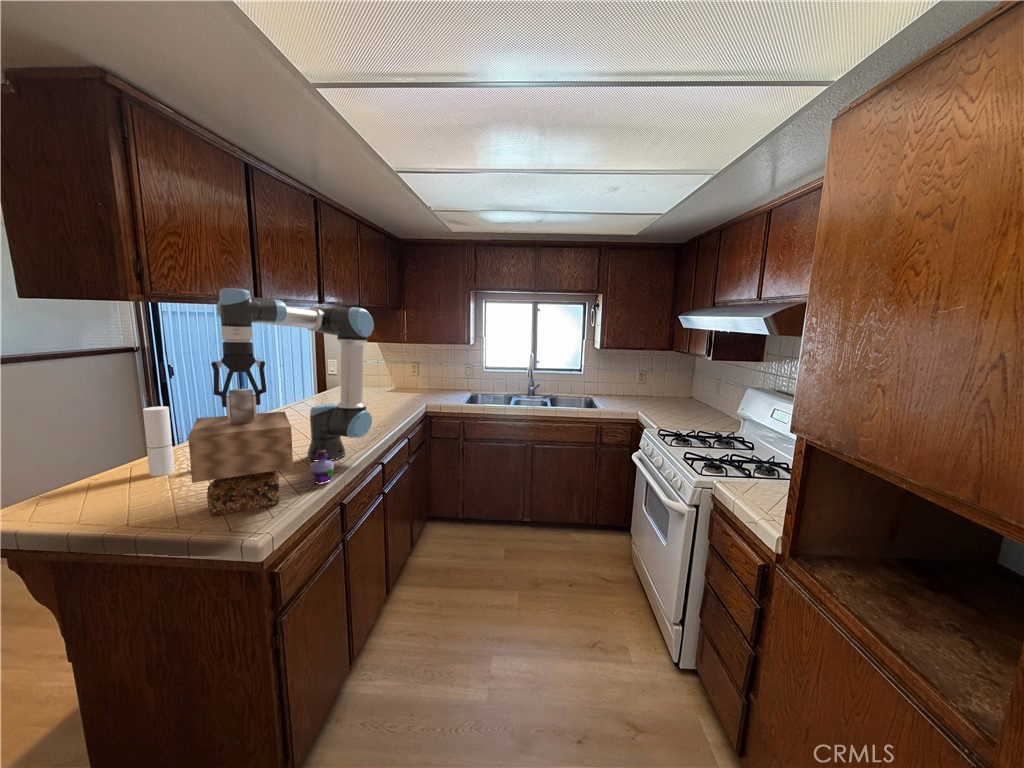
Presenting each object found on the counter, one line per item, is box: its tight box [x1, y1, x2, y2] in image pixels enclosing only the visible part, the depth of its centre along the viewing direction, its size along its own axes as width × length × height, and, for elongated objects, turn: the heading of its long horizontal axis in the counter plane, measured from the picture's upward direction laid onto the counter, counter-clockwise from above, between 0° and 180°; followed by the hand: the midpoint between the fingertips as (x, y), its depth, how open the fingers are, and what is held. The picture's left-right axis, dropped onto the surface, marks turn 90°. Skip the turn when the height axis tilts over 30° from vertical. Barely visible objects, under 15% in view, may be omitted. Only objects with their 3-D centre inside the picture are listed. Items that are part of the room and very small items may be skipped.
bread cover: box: [187, 388, 294, 484], centre depth 123 cm, size 24×24×23 cm
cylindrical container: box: [142, 405, 176, 477], centre depth 149 cm, size 7×7×25 cm
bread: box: [206, 470, 280, 517], centre depth 126 cm, size 19×11×10 cm, turn 121°
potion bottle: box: [309, 450, 335, 483], centre depth 146 cm, size 9×9×12 cm
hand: (242, 416), depth 123 cm, fingers closed on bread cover, 6 cm apart
